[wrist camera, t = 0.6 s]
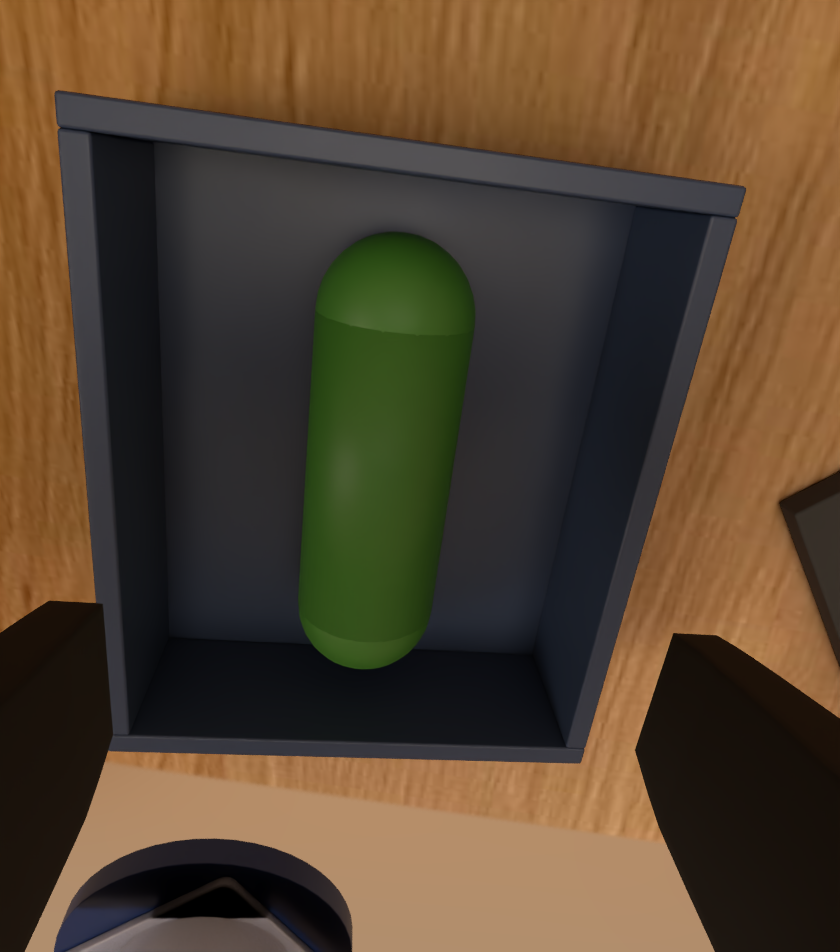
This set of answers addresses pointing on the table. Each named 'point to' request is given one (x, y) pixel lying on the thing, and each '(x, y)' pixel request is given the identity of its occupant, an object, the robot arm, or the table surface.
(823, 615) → the mat
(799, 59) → the table surface
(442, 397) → the cucumber
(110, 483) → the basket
